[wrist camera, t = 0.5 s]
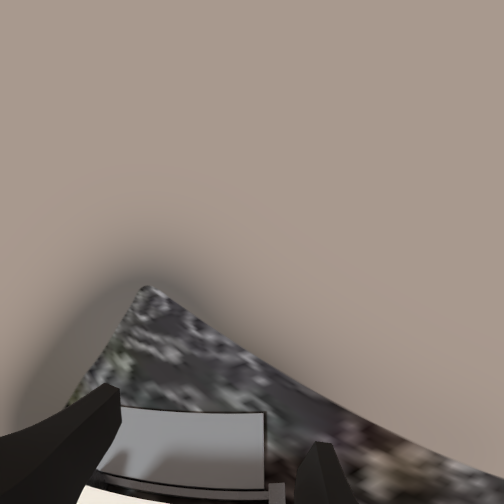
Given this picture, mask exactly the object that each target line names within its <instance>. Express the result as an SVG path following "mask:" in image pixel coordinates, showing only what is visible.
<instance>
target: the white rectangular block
mask: <svg viewBox="0 0 504 504" xmlns="http://www.w3.org/2000/svg"><path fill="white" fill-rule="evenodd" d="M77 504H168V503H162V502H155V501H150V500H144V499H139V498H134V497H129V496H125V495H120V494H116V493H112V492H108V491H104V490H100V489H97V488H93V487H90V486H86V485H85V487H84V489H83V491H82V493H81V495H80V497H79V499H78V502H77Z"/></svg>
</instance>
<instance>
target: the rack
mask: <svg viewBox="0 0 504 504" xmlns="http://www.w3.org/2000/svg"><path fill="white" fill-rule="evenodd" d="M108 485H112V486H116V487H121V488H125V489H130V490H135V491H140V492H146V493H151V494H158V495H164V496H171V497H179V498H188V499H199V500H212V501H236V502H264V501H269V504H286V502H285V483H269V491H257V492H240V491H212V490H198V489H187V488H178V487H169V486H162V485H155V484H149V483H143V482H138V481H132V480H127V479H122V478H118V477H113V476H109V475H105V474H104V473H102V472H101V471H99V470H98V469H95V471H94V472H93V474H92V476H91V477H90V479H89V480H88V482H87V484H86V486H90V487H93V488H97V489H100V490H104V491H107V489H108Z"/></svg>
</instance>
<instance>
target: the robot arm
mask: <svg viewBox="0 0 504 504" xmlns="http://www.w3.org/2000/svg"><path fill="white" fill-rule="evenodd" d="M121 424H122V415H121V403H120V389H119V388H117V387H114V386H112V385H109V384H107V383H103V384H102V385H100V386H99V387H97V388H96V389H94V390H93V391H91V392H90V393H89V394H87V395H86V396H84V397H83V398H81V399H79V400H78V401H76V402H75V403H73V404H72V405H70V406H68V407H67V408H65V409H63V410H62V411H60V412H58V413H57V414H55V415H53V416H51V417H49V418H47V419H45V420H43V421H41V422H39V423H37V424H35V425H33V426H31V427H28V428H25V429H23V430H21V431H18V432H15V433H11V434H8V435H5V436H2V437H0V504H77V502H78V499H79V497H80V495H81V493H82V491H83V489H84V487H85V485H86V484H87V482H88V480H89V479H90V477H91V476H92V474H93V472H94V471H95V469H96V468H97V466H98V465H99V463H100V462H101V460H102V459H103V457H104V456H105V454H106V452H107V451H108V449H109V448H110V446H111V445H112V443H113V441H114V439H115V437H116V435H117V432H118V430H119V428H120V426H121ZM294 504H359V503H358V501H357V499H356V497H355V495H354V493H353V491H352V489H351V487H350V485H349V483H348V481H347V479H346V477H345V474H344V472H343V470H342V467H341V465H340V463H339V460H338V458H337V455H336V453H335V450H334V447H333V445H332V444H331V443H325V442H317V441H315V443H314V444H313V446H312V447H311V449H310V451H309V452H308V454H307V455H306V457H305V459H304V460H303V462H302V463H301V465H300V466H299V468H298V469H297V475H296V482H295V490H294Z"/></svg>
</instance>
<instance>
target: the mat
mask: <svg viewBox="0 0 504 504" xmlns="http://www.w3.org/2000/svg"><path fill="white" fill-rule="evenodd" d="M121 415H122V424H121V426H120V428H119V430H118V432H117V435H116V437H115V439H114V441H113V443H112V445H111V446H110V448H109V449H108V451H107V452H106V454H105V456H104V457H103V459H102V460H101V462H100V463H99V465H98V466H97V468H96V469H98V470H99V471H101V472H103V473H107V474H111V475H116V476H120V477H125V478H130V479H135V480H141V481H147V482H153V483H160V484H167V485H175V486H184V487H194V488H207V489H227V490H264V415H263V413H252V414H209V413H183V412H168V411H155V410H145V409H135V408H127V407H121Z"/></svg>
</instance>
